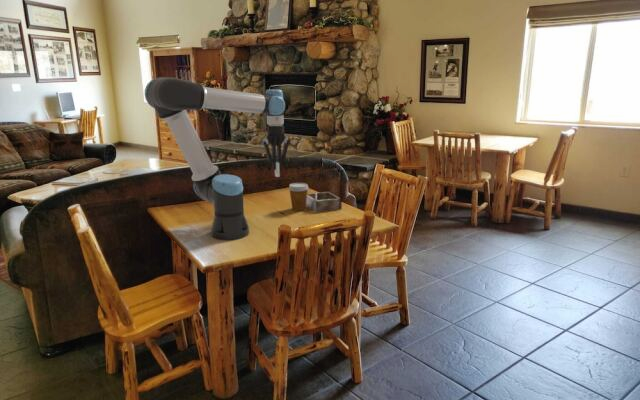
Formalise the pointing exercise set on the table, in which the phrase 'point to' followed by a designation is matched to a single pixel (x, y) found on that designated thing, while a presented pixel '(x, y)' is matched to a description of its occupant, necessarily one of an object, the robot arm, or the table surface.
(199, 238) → the table surface
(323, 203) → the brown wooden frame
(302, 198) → the disposable coffee cup
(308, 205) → the gauge plunger
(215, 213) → the robot arm
